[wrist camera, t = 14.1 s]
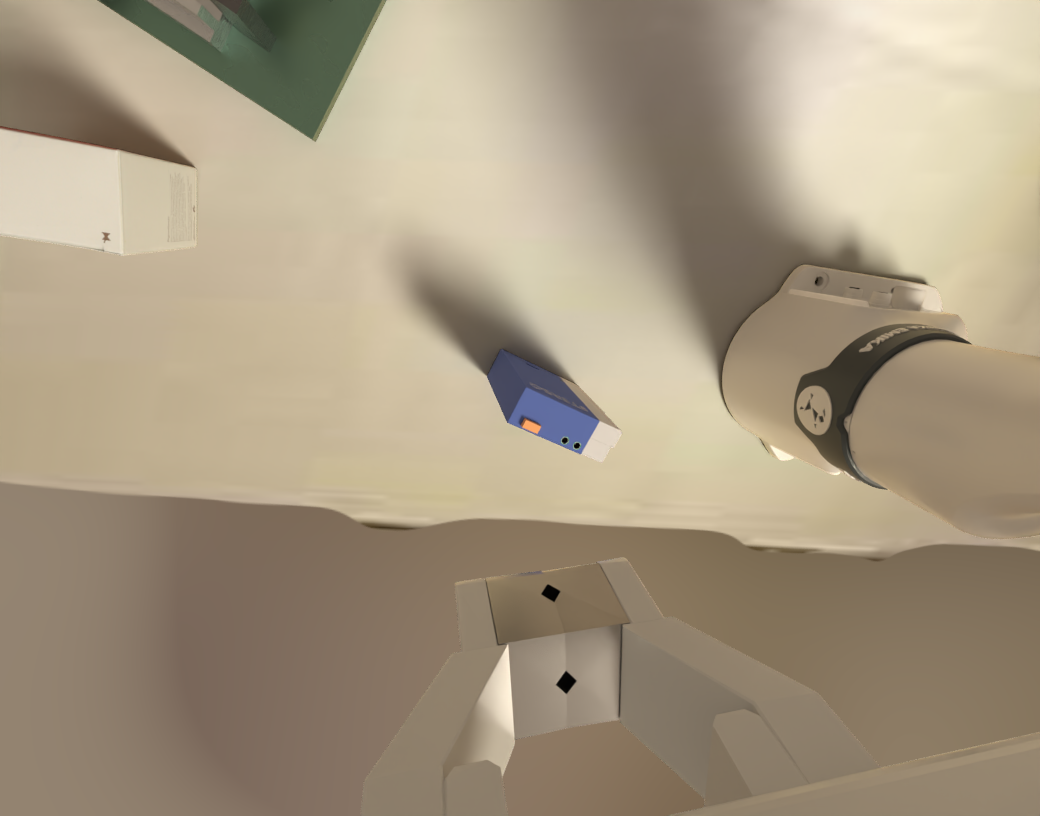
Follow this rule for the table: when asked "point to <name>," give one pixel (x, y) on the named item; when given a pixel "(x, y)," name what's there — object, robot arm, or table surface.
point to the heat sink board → (266, 47)
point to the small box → (94, 196)
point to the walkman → (551, 407)
